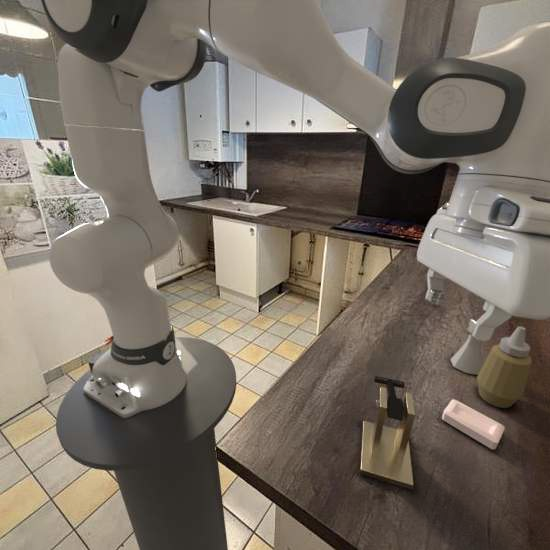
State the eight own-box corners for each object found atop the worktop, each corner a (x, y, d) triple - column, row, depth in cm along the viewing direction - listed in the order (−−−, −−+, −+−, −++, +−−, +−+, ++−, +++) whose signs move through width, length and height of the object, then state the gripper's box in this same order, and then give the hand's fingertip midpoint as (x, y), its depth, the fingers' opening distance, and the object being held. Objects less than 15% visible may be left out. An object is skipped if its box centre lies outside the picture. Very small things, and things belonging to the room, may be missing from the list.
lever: (373, 383, 59) (375, 372, 59) (402, 389, 58) (404, 378, 57) (376, 415, 47) (378, 400, 47) (413, 424, 45) (415, 409, 45)
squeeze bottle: (493, 381, 68) (518, 315, 61) (527, 409, 61) (560, 337, 53) (463, 387, 66) (486, 319, 59) (495, 416, 59) (525, 342, 52)
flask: (484, 379, 68) (496, 344, 64) (449, 368, 72) (459, 334, 68) (483, 362, 74) (494, 329, 70) (450, 352, 78) (460, 320, 74)
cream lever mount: (362, 424, 57) (371, 373, 52) (406, 436, 55) (420, 383, 50) (360, 474, 48) (370, 418, 43) (412, 490, 46) (429, 433, 41)
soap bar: (450, 405, 61) (453, 397, 60) (502, 434, 55) (506, 425, 54) (440, 420, 58) (443, 411, 57) (494, 452, 52) (498, 443, 51)
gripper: (421, 197, 42) (395, 285, 46) (547, 213, 23) (482, 362, 27) (463, 203, 42) (433, 290, 47) (622, 224, 23) (546, 370, 27)
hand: (452, 317), depth 37 cm, fingers open, 8 cm apart
